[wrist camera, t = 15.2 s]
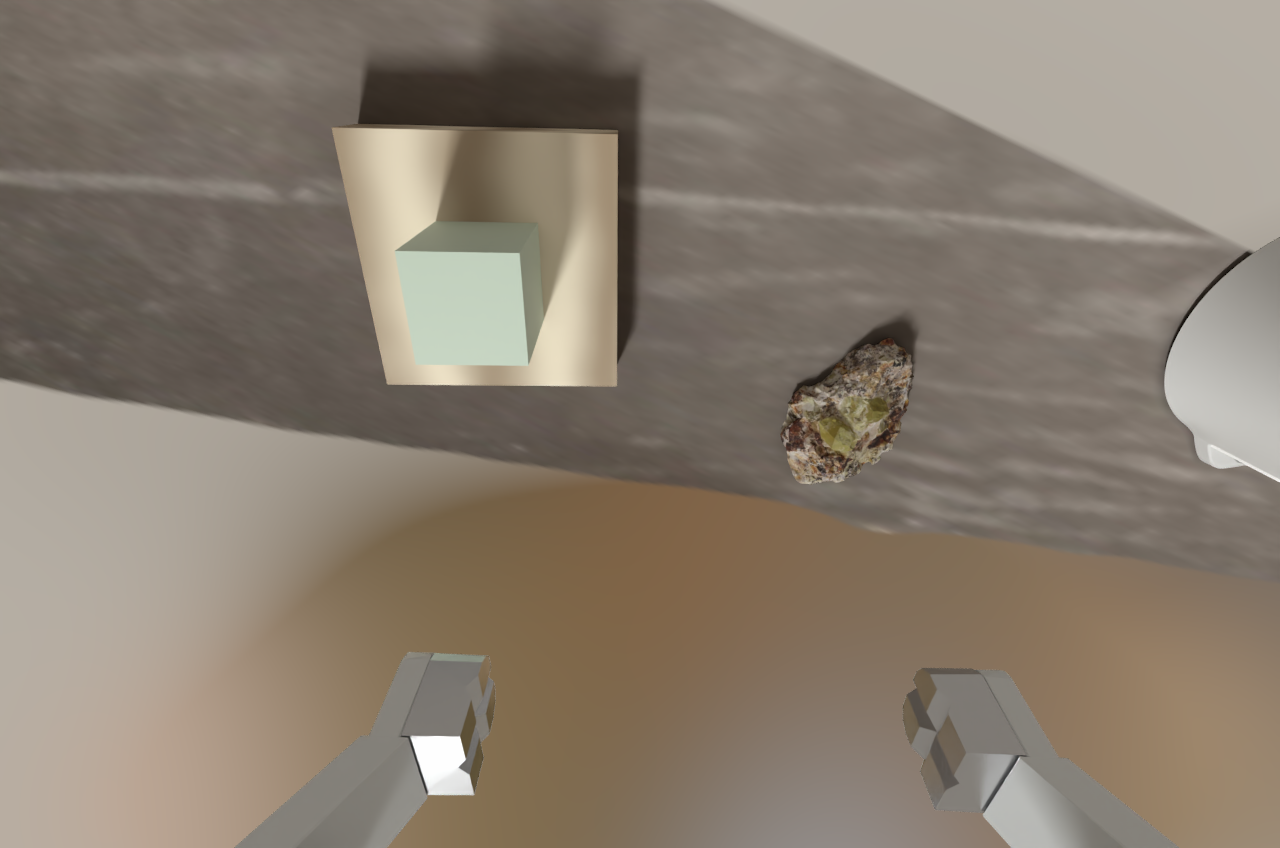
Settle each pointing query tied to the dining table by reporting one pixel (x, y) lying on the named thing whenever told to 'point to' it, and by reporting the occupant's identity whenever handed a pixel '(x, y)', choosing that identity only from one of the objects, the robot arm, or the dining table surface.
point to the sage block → (473, 292)
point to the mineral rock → (848, 414)
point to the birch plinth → (493, 192)
